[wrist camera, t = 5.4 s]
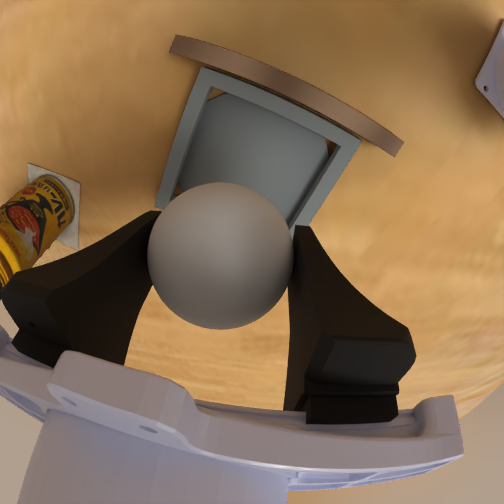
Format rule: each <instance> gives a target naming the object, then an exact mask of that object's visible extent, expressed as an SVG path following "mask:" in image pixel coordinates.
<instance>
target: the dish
mask: <svg viewBox="0 0 504 504" xmlns="http://www.w3.org/2000/svg"><path fill="white" fill-rule="evenodd" d="M213 87H215V88H217V89H220V90H223V91H225V92H228V93H226V94H223V95H220V96H218V97H216V98H214V99H212V100H210V101H208V102H207V100H208V98H209V95H210V93H211V91H212V88H213ZM324 137H325V138H327V139H329V140H331V141H333V142H334V143H336V144H337V146H336V148H335V149H334V151H333V153H332V154H331V156H330V158H329V154H328V149H327V145H326V142H325V140H324ZM361 142H362V141H361V140H360V139H359V137H357V136H355V135H354V134H352V133H350V132H348V131H347V130H345V129H343V128H342V127H340V126H338V125H336V124H334V123H333V122H331V121H329V120H327V119H325V118H323V117H322V116H320V115H318V114H316V113H314V112H312V111H310V110H308V109H306V108H304V107H302V106H300V105H298V104H296V103H294V102H292V101H290V100H289V99H287V98H285V97H282V96H280V95H277V94H275V93H272V92H270V91H268V90H266V89H263V88H261V87H259V86H256V85H254V84H251V83H249V82H247V81H244V80H241V79H239V78H236V77H234V76H231V75H228V74H226V73H223V72H220V71H217V70H215V69H212V68H209V67H206V66H205V67H201V69H200V72H199V74H198V76H197V79H196V81H195V84H194V86H193V89H192V91H191V94H190V97H189V99H188V102H187V105H186V107H185V110H184V113H183V115H182V118H181V121H180V124H179V127H178V130H177V133H176V136H175V139H174V142H173V145H172V148H171V151H170V154H169V157H168V160H167V164H166V167H165V170H164V173H163V177H162V180H161V184H160V187H159V191H158V195H157V198H156V202H155V206H154V207H157V208H159V209H161V210H164V209H165V208H166V207H167V205H168V204H169V203H170V202H171V201H172V200H174V199H175V198H176V197H177V196H175V195H174V191H175V188H176V185H177V182H178V181H179V184H180V186H181V189H182V191H183V193H184V192H185V191H187V190H189V189H191V188H194V187H196V186H200V185H204V184H208V183H216V182H223V183H233V184H238V185H241V186H245V187H247V188H249V189H252V190H254V191H256V192H257V193H259V194H261V195H262V196H264V197H265V198H266V199H268V200H269V201H270V202H271V203H272V204H273V205H274V206H275V207H276V209H277V210H278V211H279V212H280V214H281V215H282V217H283V218H284V220H285V222H286V224H287V226H288V229H289V231H290V234H291V237H292V241H293V235H294V229H295V225H303V226H308V225H309V224H310V222H311V221H312V219H313V218H314V216H315V214H316V213H317V211H318V210H319V208H320V207H321V205H322V204H323V202H324V201H325V199H326V198H327V196H328V194H329V193H330V191H331V190H332V188H333V187H334V185H335V184H336V182H337V180H338V179H339V177H340V176H341V174H342V173H343V171H344V169H345V168H346V166H347V165H348V163H349V161H350V160H351V158H352V157H353V155H354V153H355V152H356V150H357V149H358V147H359V145H360V144H361Z"/></svg>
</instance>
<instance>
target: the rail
mask: <svg viewBox="0 0 504 504" xmlns="http://www.w3.org/2000/svg"><path fill="white" fill-rule="evenodd" d="M169 52H170V53H173V54H177V55H180V56H184V57H187V58H190V59H194V60H197V61H200V62H203V63H206V64H209V65H212V66H215V67H218V68H220V69H223V70H226V71H229V72H231V73H234V74H237V75H239V76H242V77H244V78H247V79H249V80H252V81H254V82H257V83H259V84H261V85H264V86H266V87H268V88H271V89H273V90H275V91H277V92H279V93H282V94H284V95H286V96H288V97H290V98H292V99H294V100H296V101H298V102H300V103H303V104H305V105H307V106H308V107H310V108H312V109H314V110H316V111H318V112H320V113H322V114H324V115H326V116H328V117H329V118H331V119H333V120H335V121H337V122H338V123H340V124H342V125H344V126H345V127H347V128H349V129H350V130H352V131H354V132H356V133H357V134H359V135H361V136H362V137H364V138H365V139H367V140H369V141H370V142H372V143H373V144H375V145H376V146H378V147H380V148H381V149H383V150H384V151H386V152H387V153H389V154H390V155H392V156H393V157H395V156H396V154H397V153H398V151H399V150H400V148H401V146H402V145H403V143H404V142H403V141H402V140H401V139H399V138H398V137H397V136H395V135H394V134H393V133H392V132H390V131H389V130H387V129H386V128H384V127H383V126H381V125H380V124H378V123H377V122H375V121H374V120H372V119H371V118H369V117H367V116H366V115H364V114H363V113H361V112H359V111H358V110H356V109H354V108H353V107H351V106H349V105H348V104H346V103H344V102H342V101H341V100H339V99H337V98H335V97H333V96H332V95H330V94H328V93H326V92H324V91H322V90H320V89H319V88H317V87H315V86H313V85H311V84H309V83H307V82H305V81H303V80H301V79H299V78H297V77H294V76H292V75H290V74H288V73H286V72H284V71H281V70H279V69H277V68H275V67H272V66H270V65H268V64H265V63H263V62H260V61H258V60H255V59H253V58H250V57H248V56H245V55H242V54H240V53H237V52H234V51H231V50H229V49H226V48H223V47H220V46H217V45H214V44H210V43H207V42H204V41H201V40H197V39H194V38H190V37H186V36H181V35H175V38H174V40H173V43H172V45H171V47H170V50H169Z"/></svg>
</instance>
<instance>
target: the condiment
mask: <svg viewBox="0 0 504 504" xmlns="http://www.w3.org/2000/svg"><path fill="white" fill-rule="evenodd" d="M79 203H80V183H78V182H75V181H73V180H71V179H68V178H66V177H64V176H62V175H59V174H57V173H54V172H51V171H49V170H46V169H43V168H40V167H36V166H34V165H31V164H29V163H28V185H27V186H26V187H25V188H24V189H22V190H20V191H19V192H18V193H17V194H15V195H14V196H13V197H12V198H11V199H10V200H8V201H7V202H6V203H5V204H4V205H2V206H1V207H0V300H1V290H2V289H3V287H4V286H5V285H6V284H7V282H8V281H9V280H10V279H11V277H12V276H13V275H14V274H15V273H16V272H17V271H22V270H26V269H30V268H32V267H33V265H34V264H35V263H36V261H37V260H38V259H39V258H40V257H41V256H42V255H43V253H44V252H45V250H46V249H48V248H50V246H51V244H52V243H53V241H54V240H59V241H60V242H61V243H63V244H65V245H68V246H70V247H71V248H73V249H75V250H77V251H79V247H78V243H79V240H78V227H79V226H78V224H79Z"/></svg>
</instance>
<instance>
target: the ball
mask: <svg viewBox="0 0 504 504" xmlns="http://www.w3.org/2000/svg"><path fill="white" fill-rule="evenodd" d="M147 261H148V269H149V274H150V277H151V280H152V283H153V286H154V288H155V290H156V291H157V293H158V295H159V296H160V298H161V300H162V301H163V302H164V303H165V305H166V306H167V307H168V308H169V309H170V310H172V311H173V312H174V313H175V314H176V315H178V316H179V317H180V318H182V319H184V320H185V321H187V322H189V323H192V324H194V325H197V326H200V327H204V328H209V329H220V330H222V329H232V328H238V327H241V326H244V325H247V324H249V323H252V322H254V321H256V320H258V319H259V318H261V317H262V316H263V315H265V314H266V313H267V312H269V311H270V310H271V309H272V308H273V307H274V306H275V305H276V303H277V302H278V301H279V300H280V298H281V297H282V295H283V294H284V292H285V290H286V288H287V286H288V284H289V281H290V278H291V274H292V271H293V262H294V249H293V242H292V237H291V234H290V231H289V229H288V226H287V224H286V222H285V220H284V218H283V217H282V215H281V214H280V212H279V211H278V210H277V209H276V207H275V206H274V205H273V204H272V203H271V202H270V201H269V200H268V199H266V198H265V197H264V196H262V195H261V194H259V193H257V192H256V191H254V190H252V189H249V188H247V187H245V186H241V185H238V184H233V183H223V182H216V183H208V184H204V185H200V186H196V187H194V188H191V189H189V190H187V191H185V192H184V193H182V194H180V195H179V196H177V197H176V198H175V199H174V200H172V201H171V202H170V203H169V204H168V205H167V207H166V208H165V209H164V210H163V211H162V212H161V214H160V215H159V217H158V219H157V220H156V222H155V224H154V226H153V229H152V231H151V234H150V238H149V243H148V251H147Z"/></svg>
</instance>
